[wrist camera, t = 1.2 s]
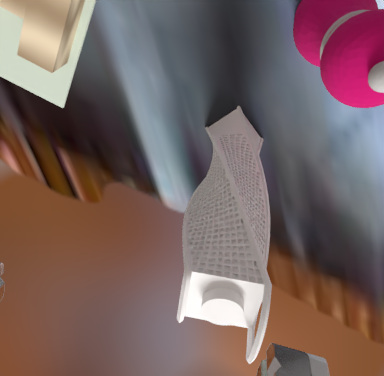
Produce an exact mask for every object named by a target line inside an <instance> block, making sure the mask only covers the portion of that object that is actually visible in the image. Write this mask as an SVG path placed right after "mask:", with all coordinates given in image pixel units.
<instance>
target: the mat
mask: <svg viewBox="0 0 384 376" xmlns="http://www.w3.org/2000/svg"><path fill="white" fill-rule="evenodd" d="M95 3H96V0H85V3H84V6H83V10H82V13H81V17H80V20H79V24H78V27H77V31H76V34H75V38H74V41H73V45H72V48H71V52H70V56H69V59H68V63H67V64H65V65H64V66H62V67H61V68H59V69H58V70H56V71H55V72H53V73H51V72H49V71H47V70H45V69H43V68H41V67H39V66H37V65H35V64H34V63H32V62H30V61H28V60H26V59H24V58H22V57H20V56H18V55H17V52H18V47H19V41H20V36H21V31H22V26H23V20H24V19H23V18H21V17H19V16H17V15H15V14H13V13H11V12H10V11H8V10H6V9H4V8H2V7H0V76H1V77H3V78H5V79H7V80H8V81H10V82H12V83H14V84H16V85H18V86H20V87H22V88H24V89H26V90H28V91H30V92H32V93H34V94H36V95H38V96H40V97H42V98H44V99H46V100H48V101H50V102H52V103H54V104H56V105H58V106H60V107H62V108H64V105H65V102H66V99H67V95H68V92H69V89H70V86H71V82H72V79H73V76H74V72H75V69H76V66H77V62H78V59H79V56H80V52H81V49H82V46H83V42H84V39H85V36H86V33H87V29H88V26H89V23H90V19H91V16H92V13H93V9H94V6H95Z"/></svg>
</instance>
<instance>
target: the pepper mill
mask: <svg viewBox="0 0 384 376" xmlns="http://www.w3.org/2000/svg"><path fill="white" fill-rule="evenodd" d="M293 36H294V41H295V44H296V47H297V49H298V51H299V52H300V54H301V55H302V56H303V57H304V58H305V59H306V60H307V61H308V62H310V63H311V64H313V65H316V66H318V67H320V70H321V77H322V81H323V83H324V85H325V87H326V89H327V90H328V92H329V93H330V94H331V95H332V96H333V97H334V98H336V99H337V100H338V101H340V102H341V103H343V104H345V105H348V106H352V107H357V108H369V107H375V106H379V105H382V104H384V9H379V10H378V6H377V3H376V1H375V0H301V2H300V4H299V5H298V8H297V10H296V13H295V18H294V28H293Z"/></svg>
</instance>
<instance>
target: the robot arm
mask: <svg viewBox="0 0 384 376" xmlns="http://www.w3.org/2000/svg"><path fill="white" fill-rule="evenodd" d="M2 273H4V267H3V263H1V262H0V275H2ZM4 290H5V283H4V282H3V280H2V279H1V277H0V302H1V299H2V298H3V294H4ZM266 356H267V357H266V359H265V360H263V361H261V363H260V366H259V368H258V371H257V375H256V376H330V375H329V371H328V365H327V362H326V360H325V359H324V358H321V357H318V356H315V355H311V354H308V353H305V352H302V351H298V350H295V349H291V348H288V347H284V346H281V345H277V344H274V343H271V344H270V345H269V347H268V349H267V351H266Z"/></svg>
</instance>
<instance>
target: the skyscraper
mask: <svg viewBox="0 0 384 376" xmlns="http://www.w3.org/2000/svg"><path fill="white" fill-rule="evenodd" d="M205 129H206V131H207V133H208V135H209V137H210V138H211V140H212V142H213V157H212V162H211V166H210V169H209V171H208V174H207V176H206V178H205V179H204V180H203V181H202V183H201V184H200V185H199V186H198V188H197V189H196V190H195V192H194V194H193V195H192V197H191V199H190V201H189V203H188V205H187V208H186V211H185V215H184V222H183V259H184V275H183V281H182V287H181V294H180V300H179V306H178V313H177V320H178V322H181V321H183V319H184V316H187V317H192V318H197V319H203V320H208V321H210V322H211V323H214V324H218V325H234V326H240V327H245V328H248V337H247V351H246V360H247V361H248V363H249V364H250V363H252V362H253V361H254V360H255V358H256V357H257V354H258V352H259V349H260V347H261V344H262V340H263V337H264V334H265V329H266V326H267V320H268V315H269V308H270V300H271V288H272V285H271V282H270V279H269V276H268V273H267V270H266V267H267V260H268V252H269V241H270V208H269V198H268V191H267V185H266V180H265V176H264V171H263V167H262V164H261V160H260V157H259V153H260V150H261V146H262V143H263V138H261V137H260V136H259V135H258V133H257V132H256V130H255V129H254V128H253V126H252V125H251V124H250V122H249V121H248V119H247V118H246V117H245V115H244V114H243V112H242V109H241V107H240V106H238V107H237V109H235V110H234V111H232V112H231V113H229V114H228V115H226V116H225V117H223V118H222V119H220V120H219V121H217V122H216V123H214V124H212V125H211V126H209V127H206V128H205ZM262 300H263V302H262ZM261 302H262V311H261V316H260V322H259V326H258V330H257V335H256V338H255V341H254V331H255V325H256V320H257V316H258V310H259V307H260V305H261Z"/></svg>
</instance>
